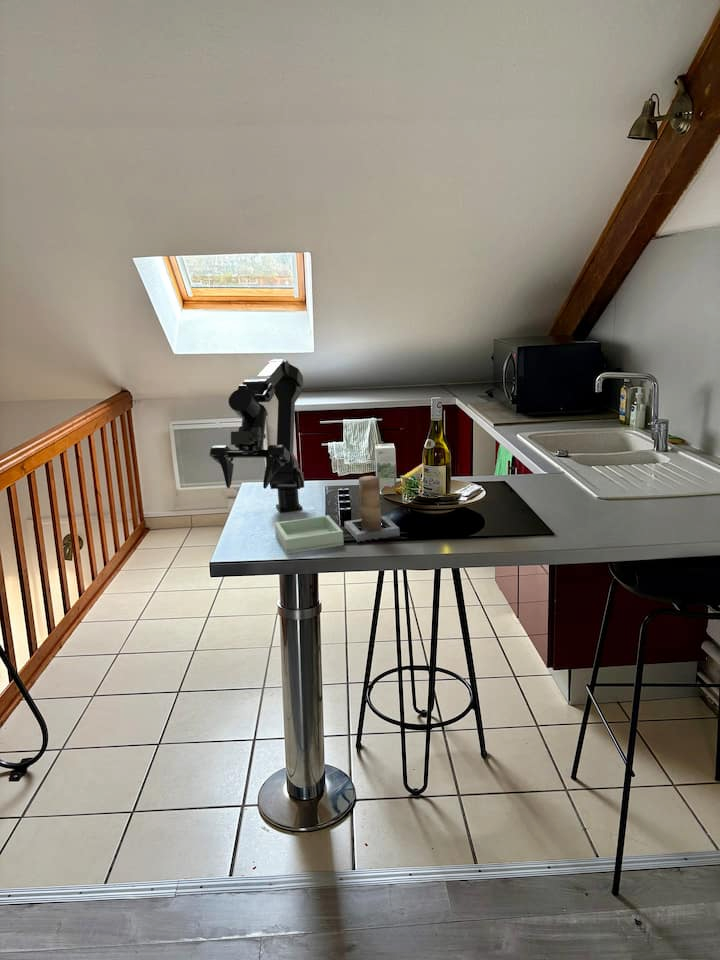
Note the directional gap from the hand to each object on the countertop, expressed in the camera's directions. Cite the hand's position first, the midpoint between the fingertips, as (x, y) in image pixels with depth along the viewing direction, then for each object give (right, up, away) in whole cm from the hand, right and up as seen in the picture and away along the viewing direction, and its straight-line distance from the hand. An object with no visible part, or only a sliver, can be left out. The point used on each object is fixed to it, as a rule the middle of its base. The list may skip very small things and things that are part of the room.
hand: (246, 488), depth 177 cm
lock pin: (+30, -11, +10) cm, 34 cm away
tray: (+15, -13, +6) cm, 20 cm away
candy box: (+43, -3, +37) cm, 57 cm away
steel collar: (+30, -11, +9) cm, 34 cm away
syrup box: (+35, -2, +43) cm, 56 cm away
